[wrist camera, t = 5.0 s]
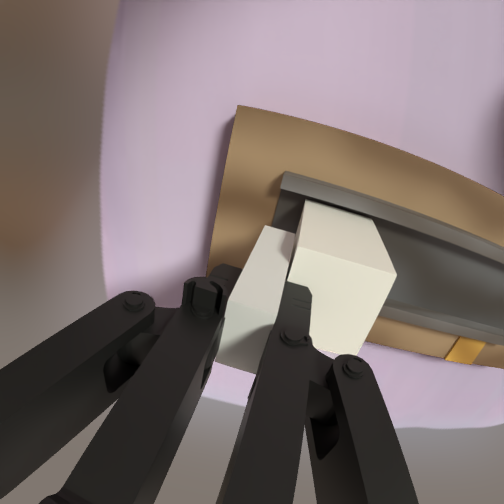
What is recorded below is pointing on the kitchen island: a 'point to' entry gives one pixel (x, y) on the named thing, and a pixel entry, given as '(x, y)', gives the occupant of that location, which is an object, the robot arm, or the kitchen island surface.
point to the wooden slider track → (387, 224)
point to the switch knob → (340, 275)
